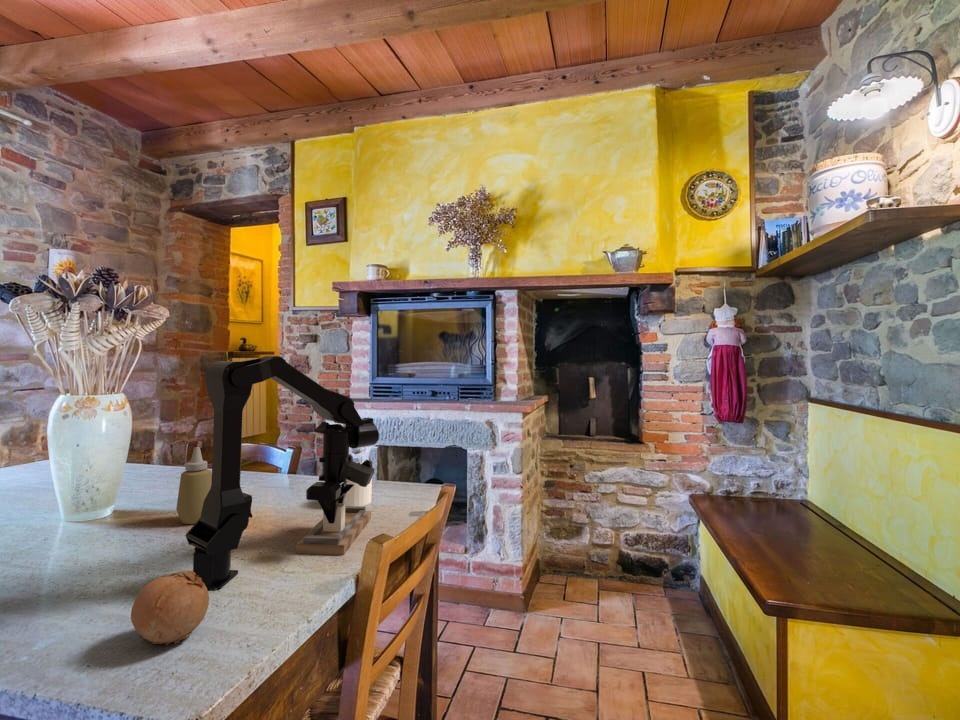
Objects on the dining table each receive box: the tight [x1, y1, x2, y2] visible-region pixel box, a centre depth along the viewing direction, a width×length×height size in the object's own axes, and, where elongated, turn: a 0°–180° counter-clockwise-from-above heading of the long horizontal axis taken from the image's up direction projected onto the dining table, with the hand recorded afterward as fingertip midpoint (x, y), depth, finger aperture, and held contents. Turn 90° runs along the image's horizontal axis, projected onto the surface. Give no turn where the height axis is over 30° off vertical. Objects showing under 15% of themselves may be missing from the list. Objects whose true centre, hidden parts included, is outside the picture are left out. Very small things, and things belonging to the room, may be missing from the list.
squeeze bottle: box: [175, 446, 212, 525], centre depth 116 cm, size 8×8×18 cm
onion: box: [130, 570, 210, 646], centre depth 69 cm, size 10×9×10 cm
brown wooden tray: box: [295, 506, 372, 556], centre depth 110 cm, size 22×10×3 cm, turn 179°
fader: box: [322, 503, 345, 532], centre depth 107 cm, size 3×4×6 cm
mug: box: [343, 462, 373, 507], centre depth 135 cm, size 13×10×10 cm
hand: (334, 520), depth 107 cm, fingers closed on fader, 3 cm apart
